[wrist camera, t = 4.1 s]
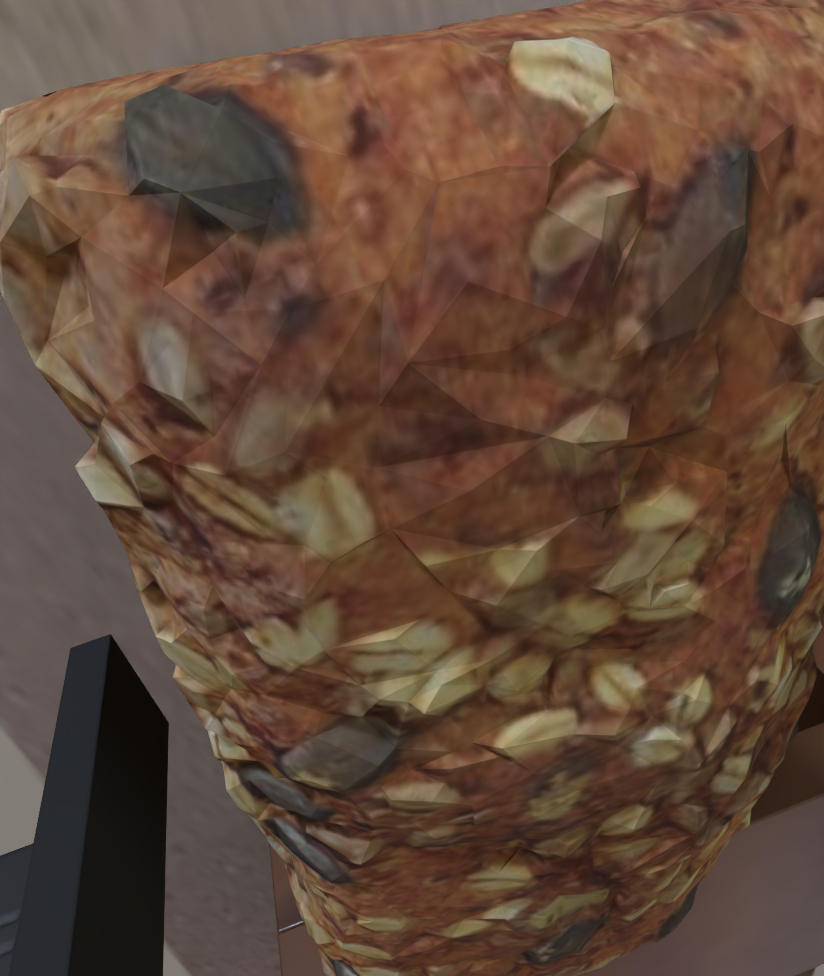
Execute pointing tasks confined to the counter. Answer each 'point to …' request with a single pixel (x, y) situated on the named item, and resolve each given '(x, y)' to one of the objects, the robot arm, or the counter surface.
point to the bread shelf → (709, 883)
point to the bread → (460, 446)
